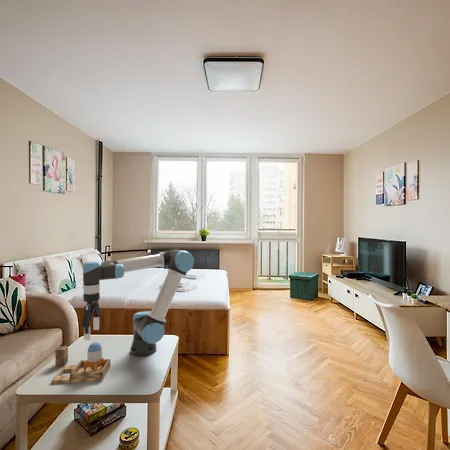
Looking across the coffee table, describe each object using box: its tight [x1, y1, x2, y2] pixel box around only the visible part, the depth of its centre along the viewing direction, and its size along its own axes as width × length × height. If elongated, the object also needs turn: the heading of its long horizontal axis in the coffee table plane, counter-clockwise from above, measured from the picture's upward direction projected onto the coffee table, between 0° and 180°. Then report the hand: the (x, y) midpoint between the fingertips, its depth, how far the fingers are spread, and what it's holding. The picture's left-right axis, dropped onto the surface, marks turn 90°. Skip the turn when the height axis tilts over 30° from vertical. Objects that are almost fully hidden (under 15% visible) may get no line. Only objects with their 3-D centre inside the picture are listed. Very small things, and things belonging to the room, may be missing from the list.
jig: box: [51, 358, 112, 385], centre depth 147 cm, size 23×15×4 cm, turn 97°
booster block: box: [54, 345, 69, 368], centre depth 157 cm, size 4×4×9 cm
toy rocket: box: [84, 341, 105, 372], centre depth 148 cm, size 10×11×15 cm
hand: (92, 334), depth 148 cm, fingers open, 13 cm apart
